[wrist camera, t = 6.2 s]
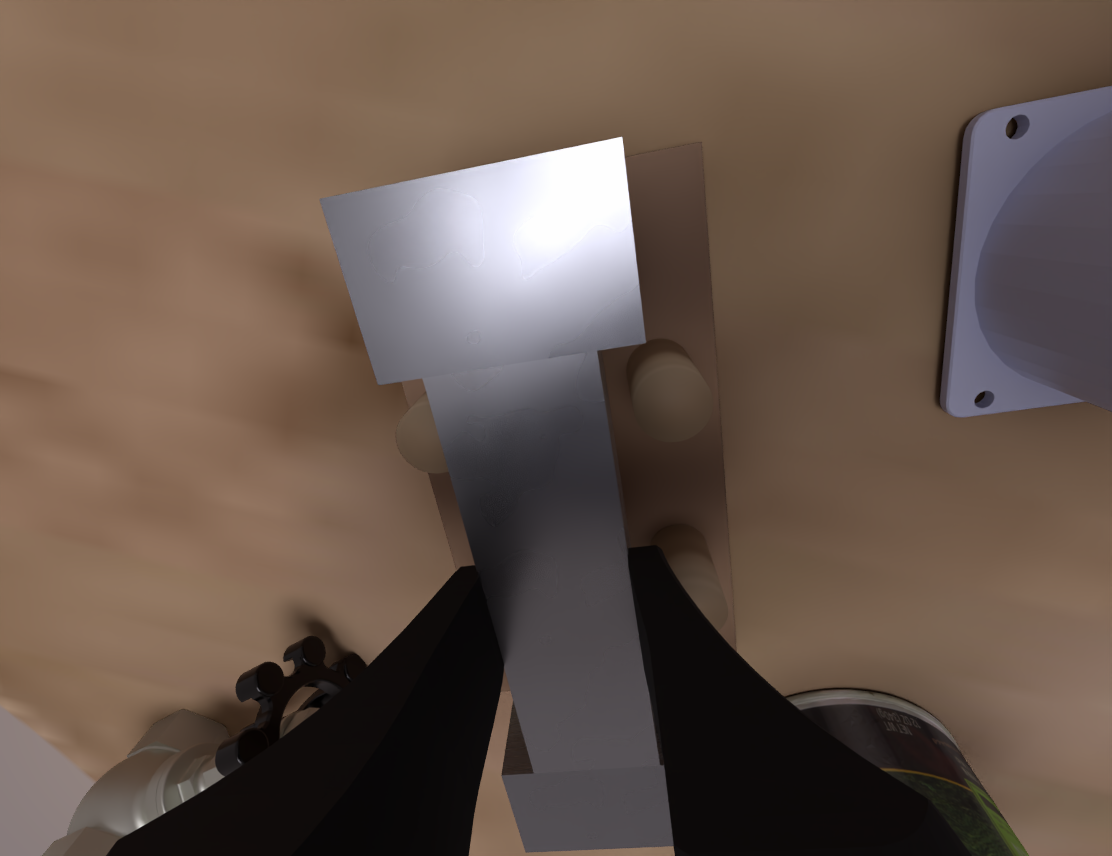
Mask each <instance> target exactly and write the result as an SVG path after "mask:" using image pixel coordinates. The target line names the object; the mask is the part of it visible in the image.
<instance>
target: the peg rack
mask: <svg viewBox="0 0 1112 856" xmlns="http://www.w3.org/2000/svg"><path fill="white" fill-rule="evenodd" d="M625 166H626V175H627V183H628V192H629V200H630V209H631V218H632V226H633V235H634V243H635V252H636V261H637V269H638V278H639V286H640V295H641V304H642V312H643V321H644V330H645V338H646V343H644V344H637V345H631V346H624V347H618V348H612V349H605V350H602V355H603V362H604V369H605V375H606V382H607V389H608V396H609V402H610V409H611V416H612V423H613V429H614V436H615V443H616V450H617V456H618V463H619V470H620V477H621V483H622V490H623V497H624V503H625V510H626V517H627V524H628V530H629V537H630V544H631V548H633V547H642V546H651V545H657V546H658V547H660V548H661V549H662V550H663V553H664V555H665V558H666V560H667V562H668V563H669V565H670V567H671V569H672V570H673V572H674V574H675V575H676V577H677V578H678V580H679V582H680V583H681V585H682V586H683V587H684V589H685V590H686V592H687V593H688V594H689V596H690V597H691V598H692V600H693V601H694V602H695V604H696V605H697V606H698V608H699V609H700V610H701V612H702V613H703V614H704V616H705V617H706V618H707V619H708V620H709V622H710V623H711V624H712V625H713V626H714V628H715V629H716V630H717V631H718V632H719V633H720V634H721V636H722V637H723V638H724V639H725V640H726V641H727V642H728V643H729V644H730V646H731V647H732V648H733V649H734V650H735V651H736V652H737V649H736V635H735V620H734V606H733V591H732V577H731V562H730V548H729V533H728V519H727V504H726V490H725V475H724V461H723V446H722V432H721V417H720V403H719V388H718V373H717V359H716V344H715V330H714V315H713V301H712V286H711V272H710V257H709V243H708V228H707V214H706V199H705V185H704V170H703V156H702V142H698V143H693V144H688V145H683V146H678V147H673V148H668V149H663V150H658V151H653V152H648V153H643V154H638V155H633V156H628V157H625ZM402 386H403V389H404V393H405V396H406V399H407V403H408V406H409V410H408V411H407V413H406V414H405V415H404V416H403V417H402V418H401V420H400V421H399V423H398V426H397V430H396V442H397V446H398V449H399V451H400V453H401V454H402V456H403V457H404V458H405V459H406V461H407V462H408V463H410V464H411V465H412V466H414V467H415V468H417V469H419V470H421V471H424V472H427V473H428V474H429V478H430V481H431V484H432V488H433V491H434V495H435V498H436V502H437V505H438V508H439V512H440V515H441V519H442V522H443V525H444V529H445V532H446V536H447V539H448V542H449V546H450V549H451V553H452V556H453V559H454V563H455V566H456V570H458V569H459V568H460V567H462V566H471V565H475V563H474V559H473V556H472V552H471V549H470V545H469V542H468V538H467V534H466V531H465V527H464V524H463V520H462V517H461V513H460V510H459V506H458V503H457V499H456V495H455V492H454V488H453V485H452V481H451V478H450V474H449V471H448V467H447V464H446V460H445V456H444V453H443V449H442V446H441V442H440V439H439V435H438V432H437V428H436V425H435V421H434V417H433V414H432V410H431V407H430V403H429V400H428V396H427V393H426V389H425V386H424V382H423V379H422V378H421V379H415V380H408V381H402ZM502 691H511V690H510V687H509V683H508V680H507V676H506V673H505V669H504V674H503V683H502V687H501V692H502Z"/></svg>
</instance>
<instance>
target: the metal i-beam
mask: <svg viewBox="0 0 1112 856" xmlns="http://www.w3.org/2000/svg"><path fill="white" fill-rule="evenodd" d="M320 203H321V206H322V209H323V212H324V215H325V218H326V222H327V225H328V228H329V231H330V234H331V237H332V241H333V244H334V247H335V250H336V253H337V256H338V260H339V263H340V266H341V269H342V272H343V275H344V279H345V282H346V285H347V288H348V291H349V294H350V298H351V301H352V304H353V307H354V310H355V313H356V317H357V320H358V323H359V326H360V329H361V332H362V336H363V339H364V342H365V345H366V348H367V351H368V355H369V358H370V361H371V364H372V367H373V370H374V374H375V377H376V380H377V383H378V385H383V384H389V383H396V382H402V381H408V380H415V379H421V378H422V379H423V382H424V386H425V389H426V393H427V396H428V400H429V403H430V407H431V410H432V414H433V417H434V421H435V425H436V428H437V432H438V435H439V439H440V442H441V446H442V449H443V453H444V456H445V460H446V464H447V467H448V471H449V474H450V478H451V481H452V485H453V488H454V492H455V495H456V499H457V503H458V506H459V510H460V513H461V517H462V520H463V524H464V527H465V531H466V534H467V538H468V542H469V545H470V549H471V552H472V556H473V559H474V563H475V566H476V570H477V573H478V576H479V577H480V580H481V584H482V587H483V591H484V594H485V598H486V602H487V605H488V609H489V612H490V616H491V619H492V623H493V626H494V630H495V634H496V637H497V641H498V644H499V648H500V651H501V655H502V659H503V662H504V669H505V673H506V676H507V680H508V683H509V687H510V690H511V694H512V698H513V705H512V711H511V718H510V724H509V730H508V737H507V743H506V750H505V756H504V762H503V769H502V775H501V776H502V779H503V782H504V785H505V788H506V791H507V794H508V798H509V801H510V804H511V807H512V810H513V813H514V817H515V820H516V823H517V826H518V829H519V832H520V836H521V839H522V842H523V845H524V848H525V851H526V852H547V851H570V850H594V849H617V848H640V847H663V846H674V845H673V836H672V828H671V819H670V811H669V802H668V794H667V786H666V777H665V769H664V761H663V755H662V751H661V746H660V741H659V737H658V732H657V728H656V723H655V718H654V714H653V709H652V704H651V700H650V695H649V691H648V686H647V681H646V677H645V672H644V666H643V660H642V653H641V647H640V640H639V633H638V627H637V620H636V614H635V607H634V601H633V594H632V588H631V581H630V574H629V568H628V560H629V557H628V548H631V544H630V537H629V530H628V524H627V517H626V510H625V503H624V497H623V490H622V483H621V477H620V470H619V463H618V456H617V450H616V443H615V436H614V429H613V423H612V416H611V409H610V402H609V396H608V389H607V382H606V375H605V369H604V362H603V355H602V350H605V349H612V348H618V347H624V346H631V345H637V344H644V343H646V338H645V330H644V321H643V312H642V304H641V295H640V286H639V278H638V269H637V261H636V252H635V243H634V235H633V226H632V218H631V209H630V200H629V192H628V183H627V175H626V166H625V157H624V149H623V140H622V137H619V138H614V139H610V140H605V141H600V142H595V143H590V144H585V145H580V146H575V147H571V148H566V149H561V150H556V151H551V152H546V153H541V154H536V155H531V156H527V157H522V158H517V159H512V160H507V161H502V162H497V163H492V164H488V165H483V166H478V167H473V168H468V169H463V170H458V171H453V172H449V173H444V174H439V175H434V176H429V177H424V178H419V179H414V180H410V181H405V182H400V183H395V184H390V185H385V186H380V187H375V188H370V189H366V190H361V191H356V192H351V193H346V194H341V195H336V196H331V197H327V198H322V199H320Z"/></svg>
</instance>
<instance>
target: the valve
mask: <svg viewBox="0 0 1112 856" xmlns="http://www.w3.org/2000/svg"><path fill="white" fill-rule="evenodd" d="M325 654H326V650H325V646H324V644H323V642H322V641H321V640H320V639H319V638H318V637H316V636H308V637H306V638H304V639H302V640H300V641H298V642H296V643H294V644H293V645H291V646H289V647H288V648H287V649H286V651H285V653H284V657H283V661H284V662H286V661H290V660H293V661H294V665H295V669H294V672H293V673H292V674H291V675H289V676H287V677H285V676H284V674H283V671H282V669H281V668H280V666H279V665H277V664H276V663H274V662H264V663H262V664H260V665H258V666H256V667H254V668H252V669H251V670H249V671H247V672H245V673H243V674H242V675H241V676H240V677H239V679H238V681H237V683H236V694H237V697H238V699H239V700H240V701H241V702H244V701H246V700H248V699H250V698H252V699H253V700H256V701H257V702H259V703H260V705H261V706H260V709H259V711H258V714H257V717H256V721H255V723H253V724H251V725H249V726H247V727H245V728H243V729H242V730H241V731H240V732H239V733H238V734H236V735H233V736H231V737H229V734H228V732H227V729H226V727H225V726H224V725H222V724H221V723H218V722H216V721H213V720H211V719H208V718H206V717H203V716H201V715H198V714H196V713H193V712H191V711H188V710H183V709H182V710H179V711H177V712H175V713H173V714H171V715H170V716H168V717H166V718H164V719H162V720H160V721H158V722H156V723H155V724H153V726H152V727H151V728H150V729H149V730H148V731H147V733H146V734H145V735H144V736H143V737H142V738H141V740H140V741H139V742H138V743H137V744H136V746H135V747H134V748H133V749H132V750H131V751H130V753H129V754H128V755H127V757H128V758H127V759H125V760H123V761H122V762H120V763H118V764H117V765H115V766H114V767H113V768H111V769H110V770H109V771H108V772H106V773H105V774H104V775H103V776H102V777H101V778H100V779H99V780H98V781H97V782H96V783H95V784H94V785H93V786H92V787H91V789H90V790H89V791H88V792H87V793H86V795H85V796H84V798H83V799H82V801H81V802H80V804H79V806H78V807H77V809H76V811H75V813H74V815H73V817H72V820H71V822H70V825H69V828H68V832H67V836H65V837H63V838H61V839H59V840H56V841H54V842H53V843H52V844H51V846H50V847H49V848H48V849H47V850H46V852H45V853H44V854H43V855H42V856H106V855H107V853H108V852H109V851H110V849H111V848H112V847H113V845H114V844H115V843H116V841H117V840H118V839H120V838H122V837H124V836H126V835H128V834H129V833H131V832H133V831H135V830H137V829H138V828H140V827H142V826H144V825H145V824H147V823H149V822H150V821H152V820H154V819H156V818H157V817H159V816H161V815H163V814H164V813H166V812H168V811H169V810H171V809H173V808H175V807H176V806H178V805H180V804H182V803H183V802H185V801H187V800H188V799H190V798H192V797H194V796H195V795H197V794H198V793H200V792H202V791H203V790H205V789H206V788H208V787H210V786H211V785H213V784H214V783H216V782H217V781H219V780H221V779H222V778H224V777H225V776H227V775H228V774H230V773H231V772H233V771H234V770H236V769H238V768H239V767H241V766H242V765H243V764H245V763H246V762H248V761H249V760H251V759H252V758H254V757H255V756H257V755H258V754H260V753H261V752H262V751H264V750H265V749H267V748H268V747H270V746H271V745H272V744H274V743H275V742H276V741H278V740H279V739H280V738H282V737H283V736H284V735H286V734H287V733H288V732H290V731H291V730H292V729H293V728H295V727H296V726H297V725H299V724H300V723H301V722H303V721H304V720H305V719H307V718H308V717H309V716H311V715H312V714H313V713H315V712H316V711H317V710H318V709H320V708H321V707H322V706H323V705H325V704H326V703H327V702H328V701H329V700H330V699H332V698H333V697H334V696H335V695H336V694H337V693H339V692H340V691H341V690H342V689H343V688H344V687H346V686H347V685H348V684H349V683H350V682H351V681H352V680H353V679H355V678H356V677H357V676H358V675H359V674H360V673H361V672H362V671H363V670H364V669H365V668H366V664H365V662H364V661H363V660H362V659H361V658H360V657H359V656H358V655H356V654H352V655H349V656H347V657H345V658H343V659H341V660H339V661H337V662H335V663H333V664H332V665H331V667H330V668H328V667H326V666H325V664H324V662H323V660H324V658H325ZM301 687H316V688H319V689H318V690H317V691H316V692H315V693H313V694H312V695H311V696H310V697H309V698H308V699H307V700H306V701H305V702H304V703H303V704H302V705H301V706H300V708H299V709H298V710H297V711H296V712H293V713H291V714H289V715H287V716H285V717H283V718H282V716H283V712H284V709H285V707H286V705H287V703H288V701H289V699H290V698H291V697H292V695H293V694H294V693H295V692H296V691H297V690H298V689H299V688H301Z"/></svg>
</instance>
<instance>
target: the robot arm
mask: <svg viewBox="0 0 1112 856" xmlns="http://www.w3.org/2000/svg"><path fill="white" fill-rule="evenodd" d="M1012 118H1014V119H1015V120H1016V121H1017V126H1018V128H1017V130H1016V133H1015V134H1014V135H1013V137H1012V138H1011V139H1010V138H1008V137H1007V136H1006V131H1005V129H1006V126H1007V123H1008V122H1009V121H1010V120H1011V119H1012ZM983 391H985V396H984V398H983V399H982V400H981V401H980V402H978V403H975V402H974V400H975V398H976V396H977V395H978V394H979V393H981V392H983ZM1078 402H1088V403H1091V404H1093V405H1096V406H1098V407H1101V408H1103V409H1106V410H1109V411H1111V412H1112V86H1108V87H1103V88H1098V89H1093V90H1088V91H1082V92H1077V93H1072V94H1067V95H1062V96H1057V97H1052V98H1046V99H1041V100H1036V101H1031V102H1026V103H1021V104H1016V105H1011V106H1005V107H1000V108H995V109H991V110H987V111H985V112H982V113H980V114H978V115H977V116H976V117H975V118H973V119H972V120H971V121H970V123H969V124H968V126H967V128H966V130H965V134H964V137H963V148H962V159H961V170H960V181H959V193H958V204H957V215H956V226H955V237H954V248H953V260H952V271H951V282H950V293H949V304H948V315H947V326H946V338H945V349H944V360H943V371H942V382H941V393H940V405H941V407H942V409H943V410H944V411H945V412H947V413H948V414H950V415H952V416H954V417H970V416H978V415H986V414H993V413H1001V412H1009V411H1017V410H1024V409H1032V408H1040V407H1047V406H1055V405H1063V404H1070V403H1078ZM628 557H629V560H628V568H629V574H630V581H631V588H632V594H633V601H634V607H635V614H636V620H637V627H638V633H639V640H640V647H641V653H642V660H643V666H644V672H645V677H646V681H647V686H648V691H649V695H650V700H651V704H652V709H653V714H654V718H655V723H656V728H657V732H658V737H659V741H660V746H661V751H662V755H663V761H664V769H665V777H666V786H667V794H668V802H669V811H670V819H671V828H672V836H673V845H674V852H675V856H972V855H971V853H970V852H969V851H968V849H967V848H966V846H965V845H964V844H963V842H962V841H961V840H960V838H959V837H958V835H957V834H956V833H955V831H954V830H953V829H952V827H951V826H950V825H949V823H948V822H947V821H946V820H945V818H944V817H943V816H942V814H941V813H940V812H939V810H938V809H937V808H936V807H935V805H934V804H933V803H932V802H931V801H930V800H929V799H928V798H926V797H925V796H923V795H921V794H920V793H918V792H917V791H915V790H914V789H912V788H910V787H909V786H907V785H906V784H904V783H902V782H901V781H899V780H898V779H896V778H894V777H893V776H891V775H890V774H888V773H887V772H885V771H883V770H882V769H880V768H879V767H877V766H875V765H874V764H872V763H871V762H869V761H868V760H866V759H865V758H863V757H862V756H860V755H859V754H858V753H856V752H855V751H853V750H852V749H851V748H849V747H848V746H846V745H845V744H844V743H842V742H841V741H839V740H838V739H837V738H835V737H834V736H833V735H831V734H830V733H828V732H827V731H826V730H825V729H823V728H822V727H821V726H820V725H818V724H817V723H816V722H815V721H813V720H812V719H811V718H810V717H808V716H807V715H806V714H805V713H804V712H802V711H801V710H800V709H799V708H797V707H796V706H795V705H794V704H792V703H791V702H790V701H789V700H787V699H786V698H785V697H784V696H782V695H781V694H780V693H779V692H778V691H777V690H776V689H775V688H774V687H772V686H771V685H770V684H769V683H768V682H767V681H766V680H765V679H764V678H763V677H761V676H760V675H759V674H758V673H757V672H756V671H755V670H754V669H753V668H752V667H751V666H750V665H749V664H748V663H747V662H746V661H745V660H744V659H743V658H742V657H741V656H740V655H739V654H738V653H737V652H736V651H735V650H734V649H733V648H732V647H731V646H730V644H729V643H728V642H727V641H726V640H725V639H724V638H723V637H722V636H721V634H720V633H719V632H718V631H717V630H716V629H715V628H714V626H713V625H712V624H711V623H710V622H709V620H708V619H707V618H706V617H705V616H704V614H703V613H702V612H701V610H700V609H699V608H698V606H697V605H696V604H695V602H694V601H693V600H692V598H691V597H690V596H689V594H688V593H687V592H686V590H685V589H684V587H683V586H682V585H681V583H680V582H679V580H678V578H677V577H676V575H675V574H674V572H673V570H672V569H671V567H670V565H669V563H668V562H667V560H666V558H665V555H664V553H663V550H662V549H661V548H660V547H658V546H657V545H651V546H642V547H633V548H628ZM503 674H504V662H503V659H502V655H501V651H500V648H499V644H498V641H497V637H496V634H495V630H494V626H493V623H492V619H491V616H490V612H489V609H488V605H487V602H486V598H485V594H484V591H483V587H482V584H481V580H480V577H479V576H478V573H477V570H476V566H475V565H471V566H462V567H460V568H459V569H458V570H457V571H456V572H455V573H454V574H453V575H452V576H451V578H450V579H449V580H448V581H447V582H446V583H445V584H444V585H443V587H442V588H441V589H440V590H439V591H438V592H437V593H436V595H435V596H434V597H433V598H432V599H431V600H430V601H429V603H428V604H427V605H426V606H425V607H424V608H423V609H422V610H421V611H420V613H419V614H418V615H417V616H416V617H415V618H414V619H413V620H412V621H411V623H410V624H409V625H408V626H407V627H406V628H405V629H404V630H403V631H402V632H401V633H400V634H399V635H398V636H397V637H396V638H395V639H394V640H393V641H392V642H391V643H390V644H389V645H388V646H387V647H386V648H385V649H384V650H383V651H382V652H381V654H380V655H379V656H378V657H377V658H376V659H375V660H374V661H373V662H372V663H371V664H370V665H369V666H368V667H366V668H365V669H364V670H363V671H362V672H361V673H360V674H359V675H358V676H357V677H356V678H355V679H353V680H352V681H351V682H350V683H349V684H348V685H347V686H346V687H344V688H343V689H342V690H341V691H340V692H339V693H337V694H336V695H335V696H334V697H333V698H332V699H330V700H329V701H328V702H327V703H326V704H325V705H323V706H322V707H321V708H320V709H318V710H317V711H316V712H315V713H313V714H312V715H311V716H309V717H308V718H307V719H305V720H304V721H303V722H301V723H300V724H299V725H297V726H296V727H295V728H293V729H292V730H291V731H290V732H288V733H287V734H286V735H284V736H283V737H282V738H280V739H279V740H278V741H276V742H275V743H274V744H272V745H271V746H270V747H268V748H267V749H265V750H264V751H262V752H261V753H260V754H258V755H257V756H255V757H254V758H252V759H251V760H249V761H248V762H246V763H245V764H243V765H242V766H241V767H239V768H238V769H236V770H234V771H233V772H231V773H230V774H228V775H227V776H225V777H224V778H222V779H221V780H219V781H217V782H216V783H214V784H213V785H211V786H210V787H208V788H206V789H205V790H203V791H202V792H200V793H198V794H197V795H195V796H194V797H192V798H190V799H188V800H187V801H185V802H183V803H182V804H180V805H178V806H176V807H175V808H173V809H171V810H169V811H168V812H166V813H164V814H163V815H161V816H159V817H157V818H156V819H154V820H152V821H150V822H149V823H147V824H145V825H144V826H142V827H140V828H138V829H137V830H135V831H133V832H131V833H129V834H128V835H126V836H124V837H122V838H120V839H118V840H117V841H116V843H115V844H114V845H113V847H112V848H111V849H110V851H109V852H108V853H107V855H106V856H469V849H470V841H471V834H472V826H473V818H474V812H475V807H476V801H477V796H478V790H479V786H480V781H481V777H482V773H483V768H484V764H485V759H486V755H487V750H488V746H489V742H490V737H491V733H492V728H493V724H494V720H495V715H496V710H497V706H498V701H499V697H500V692H501V687H502V683H503Z"/></svg>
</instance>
